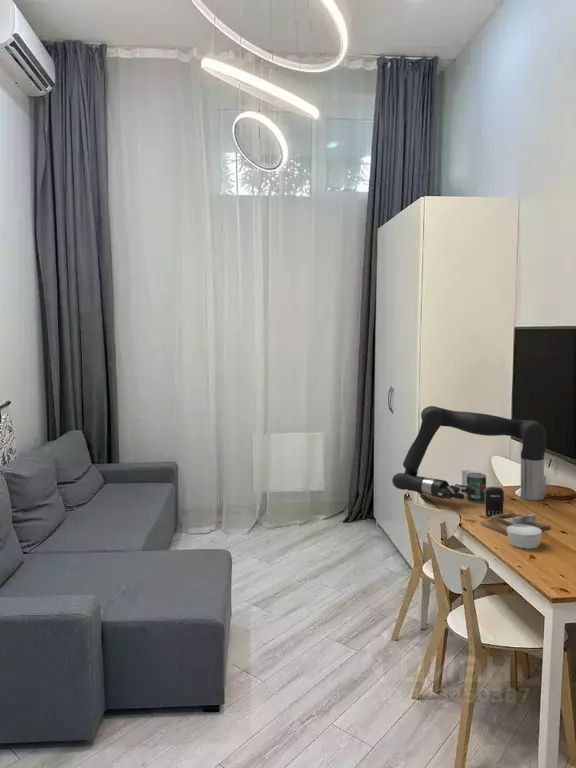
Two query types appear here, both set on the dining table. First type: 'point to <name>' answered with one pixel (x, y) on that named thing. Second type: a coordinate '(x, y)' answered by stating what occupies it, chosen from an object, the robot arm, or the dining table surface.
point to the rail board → (512, 522)
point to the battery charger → (494, 501)
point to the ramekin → (524, 536)
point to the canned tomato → (476, 487)
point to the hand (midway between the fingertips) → (469, 494)
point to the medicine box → (464, 475)
